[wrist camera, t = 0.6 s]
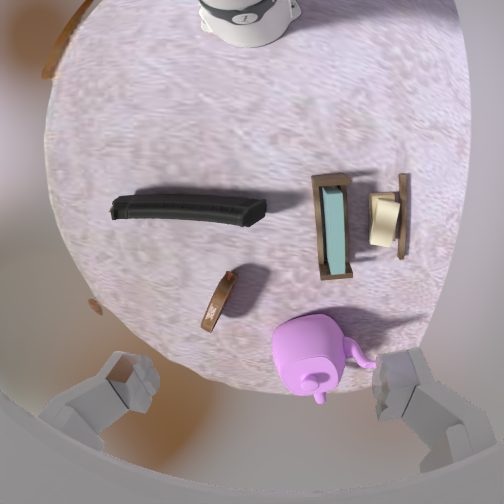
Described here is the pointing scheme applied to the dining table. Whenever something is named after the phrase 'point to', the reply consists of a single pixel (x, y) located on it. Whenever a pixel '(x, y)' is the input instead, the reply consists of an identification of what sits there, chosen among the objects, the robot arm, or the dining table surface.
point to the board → (334, 228)
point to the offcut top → (384, 222)
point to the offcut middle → (374, 200)
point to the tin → (218, 301)
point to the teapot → (313, 355)
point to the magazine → (190, 208)
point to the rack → (342, 182)
